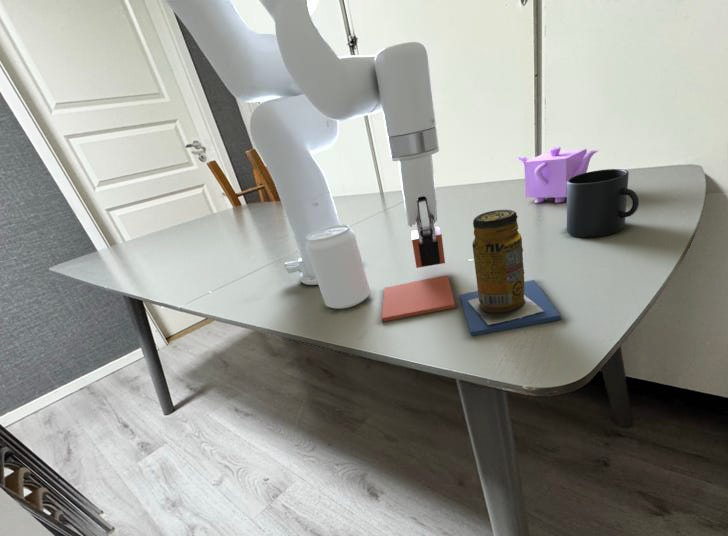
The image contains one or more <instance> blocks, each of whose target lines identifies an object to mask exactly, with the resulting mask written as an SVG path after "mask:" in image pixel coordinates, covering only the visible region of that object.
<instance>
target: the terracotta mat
mask: <svg viewBox="0 0 728 536" xmlns="http://www.w3.org/2000/svg"><path fill="white" fill-rule="evenodd" d="M456 308H457V307H456V302H455V298H454V293H453V290H452V286H451V283H450V279H449V275H448V274H446V275H440V276H435V277H431V278H426V279H422V280H417V281H416V280H415V281H411V282H406V283H402V284H397V285H392V286H387V287H384V292H383V300H382V309H381V322H387V321H394V320H400V319H403V318H410V317H414V316H418V315H425V314H430V313H434V312H441V311H444V310H445V311H446V310H451V309H456Z"/></svg>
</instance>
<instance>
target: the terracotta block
mask: <svg viewBox="0 0 728 536" xmlns="http://www.w3.org/2000/svg"><path fill="white" fill-rule="evenodd" d="M434 229H435V236H436V240H437V241H438V248H439V256H440V263H439V264H435V265H434V266H436V265H442V264H446V259H445V251H444V243H443V235H442V231H441V228H440V226H434ZM411 243H412V244H411V245H412V249H413V256H414V261H415V267H416V269H418V268H419V269H420V268H425V267H426V266H422V264H421V258H420V251H419V245H418V243H420V242H419V236H418V229H417V230H411ZM430 266H432V265H430ZM430 266H429V267H430Z"/></svg>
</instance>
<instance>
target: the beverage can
mask: <svg viewBox="0 0 728 536" xmlns="http://www.w3.org/2000/svg"><path fill="white" fill-rule="evenodd" d="M306 240H307V242H306V250H307V253H308V256H309V259H310V261H311V264H312V267H313V270H314V273H315V276H316V279H317V282H318V287H319V291H320V294H321V296H322V299H323V302H324V304H325V306H326V307H327V308H331V309H337V310H339V309H340V310H342V309H347V308H351V307H355V306H357V305H359V304H361V303H363V302H364V301H365V300H366V299H367V298H368V297H369V296H370V294H371V288H370V284H369V281H368V278H367V274H366V270H365V267H364V263H363V259H362V255H361V252H360V248H359V244H358V241H357V236H356V234H355V232H354V231H353V230H352V229H351V227H350V225H349V224H340V225H335V226H330V227H326V228H323V229H320V230H317V231H315V232H313V233H311V234H309V235H308V236H307V237H306Z"/></svg>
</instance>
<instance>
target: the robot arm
mask: <svg viewBox="0 0 728 536" xmlns="http://www.w3.org/2000/svg"><path fill="white" fill-rule="evenodd" d="M164 1H165V3H166V4H167V5H168V6H169V8H170V10H172V11H173V13H174V14H175V15H176V16H177V18H178V19H179V20H180V21H181V23H182V24H183V25H184V27H185V28H186V29H187V31H188V32H189V34H190V35H191V36H192V38H193V40H194V41H195V43H196V44H197V46H198V48H199V49H200V50H201V53H203V55H204V56H205V58H206V59H207V61H208V62H209V64H210V65H211V67H212V68H213V70H214V71H215V73H216V74H217V76H218V77H219V78H220V80H221V82H222V83H223V84H224V86H225V88H227V90H228V92H229V93H230V94H231V95H232V96H233V97H234V98H235V99H236V100H239V101H241V102H244V103H259V102H261V103H260V104H259V105H257V106H256V107H255V108H254V109H253V111H252V113H251V116H250V118H249V119H250V120H249V132H250V137H251V139H252V142H253V144H254V146H255V148H256V150H257V152H258V154H259V155H260V157H261V159H262V161H263V163H264V164H265V166H266V168H267V171H268V173H269V174H270V177H271V178H272V182H273V184H274V186H275V189H276V192H277V194H278V197H279V200H280V204H281V205H282V208H283V210H284V211H283V212H284V213H285V216H286V219H287V222H288V225H289V228H290V230H291V233H292V236H293V239H294V241H295V244H296V247H297V250H298V253H299V255H300V257H299V258H298V259H297V260H295V261H288V262H284V263H283V266H284V267H283V268H284V270H285V271H286V272H287V273H288V274H293V273H297V272H299V273H301V274H300V275H299V278H300V281H301V282H302V284H303V285H308V286H317V285H318V282H317V279H316V276H315V273H314V270H313V267H312V264H311V261H310V259H309V256H308V253H307V250H306V242H307V240H306V237H307V236H308V235H309V234H311V233H313V232H315V231H317V230H320V229H323V228H326V227H330V226H335V225H341V223H340V220H339V217H338V213H337V208H336V205H335V202H334V199H333V195H332V192H331V188H330V186H329V182H328V180H327V177H326V175H325V173H324V171H323V169H322V167H321V166H320V165H319V163H318V162H317V160H316V159H315V157H314V156H313V154H316V153H319V152H320V153H321V152H322V151H324V150H327V149H329V148H331V147H332V146H333V145H334V144H335V143H336V141H337V140H338V137H339V131H340V124H339V122H344V121H349V120H353V119H356V118H361V117H366V116H371V115H373V114H377V113H380V112H382V115H383V121H384V126H385V127H384V128H385V132H386V137H387V144H388V149H389V156H390V160H391V162H398V171H399V178H400V179H399V180H400V185H401V192H402V199H403V203H404V211H405V215H406V222H407V226H408V227H409V228H413V226H414V225H416V229H417V230H418V236H419V242H420V243H418V245H419V251H420V258H421V264H422V266H425V267H430V265H431V266H436V265H435V264H437V265H440V264H439V263H440V256H439V248H438V241H437V240H436V236H435V229H434V227H435V223H436V222H437V221H438V203H437V188H436V180H435V169H434V164H433V163H434V162H433V155H434V154H437V153H438V152H440V146H439V140H438V139H439V137H438V130H437V121H436V113H435V103H434V95H433V87H432V78H431V68H430V61H429V54H428V50H427V47H426V46H425V45H424V44H423V43H422V42H420V41H407V42H402V43H398V44H393V45H390V46H388V47H385V48H382V49H380V50H379V51H378V52H377V53H376V54H372V55H371V54H370V55H369V54H368V55H344V56H343V55H342V56H338V55H337V54H336V52H335V51H334V50H333V48H332V47H331V46H330V45H329V42H327V41H326V39H325V38H324V36H323V35H322V33H321V32H320V30H319V29H318V27H317V25H316V23H315V22H314V20H313V19H312V16H311V15H312V14H313V12H314V11H315V10H316V8H317V6H318V5H317V4H318V2H319V0H259V2H260V3H261V5H262V6H263V7H264V9H265V10H266V11H267V12H268V14H269V15H270V17H271V18H272V19H273V22H274V25H275V29H274V30H275V34H273V33H259V32H255V31H254V30H252V29H251V28H250V27H249V26H248V25H247V23H246V22H245V21H244V19H243V17H242V16H241V15H240V13H239V12H238V10H237V8H236V6H235V5H234V2H233V1H232V0H164ZM318 286H319V285H318Z"/></svg>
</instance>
